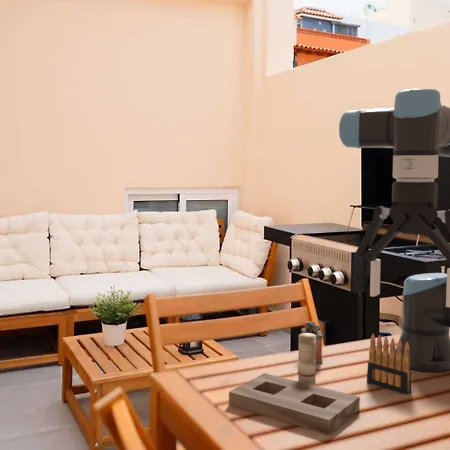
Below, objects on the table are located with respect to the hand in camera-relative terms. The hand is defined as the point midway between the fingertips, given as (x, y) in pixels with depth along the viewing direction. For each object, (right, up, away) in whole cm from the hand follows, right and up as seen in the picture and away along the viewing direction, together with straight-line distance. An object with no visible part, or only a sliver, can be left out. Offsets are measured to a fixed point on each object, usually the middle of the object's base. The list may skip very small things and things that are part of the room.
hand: (411, 300), depth 107 cm
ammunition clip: (+5, -25, +33) cm, 42 cm away
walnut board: (-18, -26, +22) cm, 39 cm away
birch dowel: (-14, -24, +35) cm, 45 cm away
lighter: (-10, -23, +53) cm, 59 cm away
